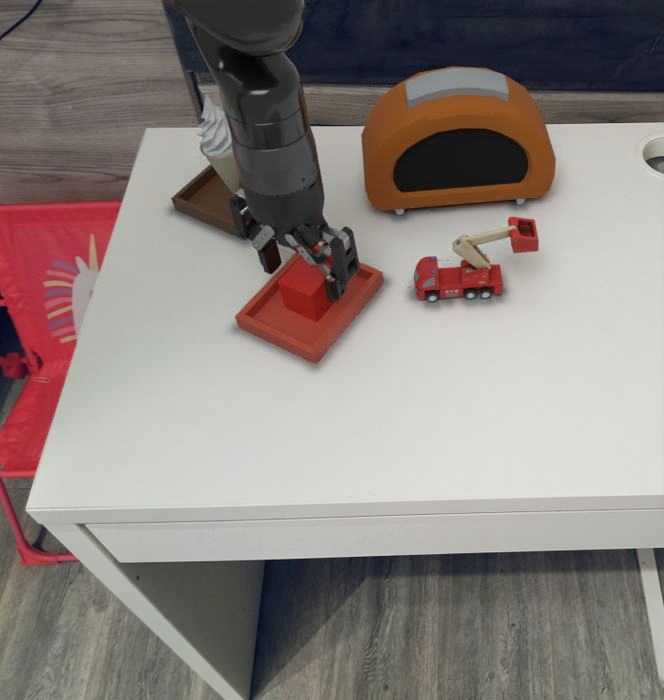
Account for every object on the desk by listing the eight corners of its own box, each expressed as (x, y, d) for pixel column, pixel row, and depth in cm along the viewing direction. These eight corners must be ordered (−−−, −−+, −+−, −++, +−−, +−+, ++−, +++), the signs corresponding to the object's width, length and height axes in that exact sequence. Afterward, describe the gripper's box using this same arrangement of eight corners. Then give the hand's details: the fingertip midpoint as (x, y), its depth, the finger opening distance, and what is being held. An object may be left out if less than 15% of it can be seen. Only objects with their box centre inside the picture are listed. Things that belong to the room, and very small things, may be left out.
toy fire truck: (414, 281, 90) (409, 221, 83) (530, 275, 91) (536, 214, 83) (415, 303, 88) (411, 243, 81) (533, 296, 89) (540, 236, 81)
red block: (317, 322, 86) (310, 296, 83) (284, 307, 88) (277, 281, 84) (340, 296, 89) (335, 269, 85) (308, 281, 90) (301, 254, 86)
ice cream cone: (263, 186, 100) (235, 85, 88) (246, 212, 97) (215, 111, 85) (227, 180, 101) (195, 78, 89) (209, 205, 98) (174, 103, 86)
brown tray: (244, 240, 95) (241, 228, 93) (175, 209, 98) (170, 198, 96) (299, 186, 100) (296, 175, 99) (231, 159, 104) (228, 148, 102)
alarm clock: (369, 221, 97) (354, 107, 83) (365, 174, 102) (350, 60, 89) (552, 205, 98) (566, 92, 85) (539, 160, 104) (551, 46, 90)
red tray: (315, 364, 83) (313, 353, 82) (238, 327, 86) (234, 316, 85) (383, 282, 90) (382, 271, 89) (310, 251, 93) (307, 239, 92)
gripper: (193, 163, 72) (232, 281, 85) (317, 215, 68) (338, 330, 81) (244, 121, 76) (273, 239, 89) (364, 168, 72) (377, 284, 85)
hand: (304, 282), depth 85 cm, fingers open, 8 cm apart
